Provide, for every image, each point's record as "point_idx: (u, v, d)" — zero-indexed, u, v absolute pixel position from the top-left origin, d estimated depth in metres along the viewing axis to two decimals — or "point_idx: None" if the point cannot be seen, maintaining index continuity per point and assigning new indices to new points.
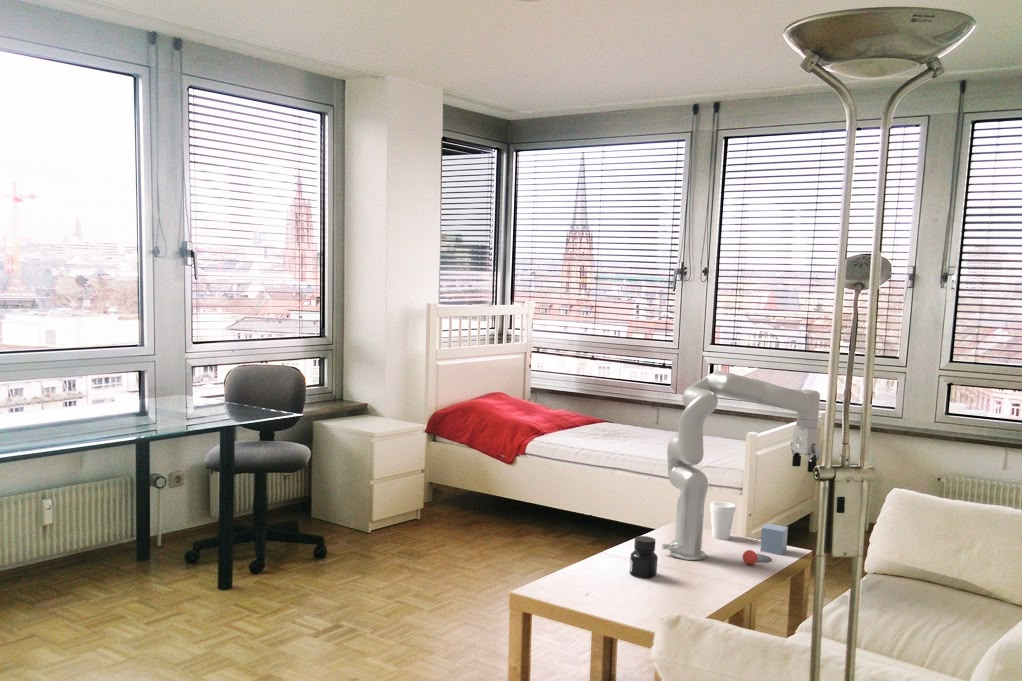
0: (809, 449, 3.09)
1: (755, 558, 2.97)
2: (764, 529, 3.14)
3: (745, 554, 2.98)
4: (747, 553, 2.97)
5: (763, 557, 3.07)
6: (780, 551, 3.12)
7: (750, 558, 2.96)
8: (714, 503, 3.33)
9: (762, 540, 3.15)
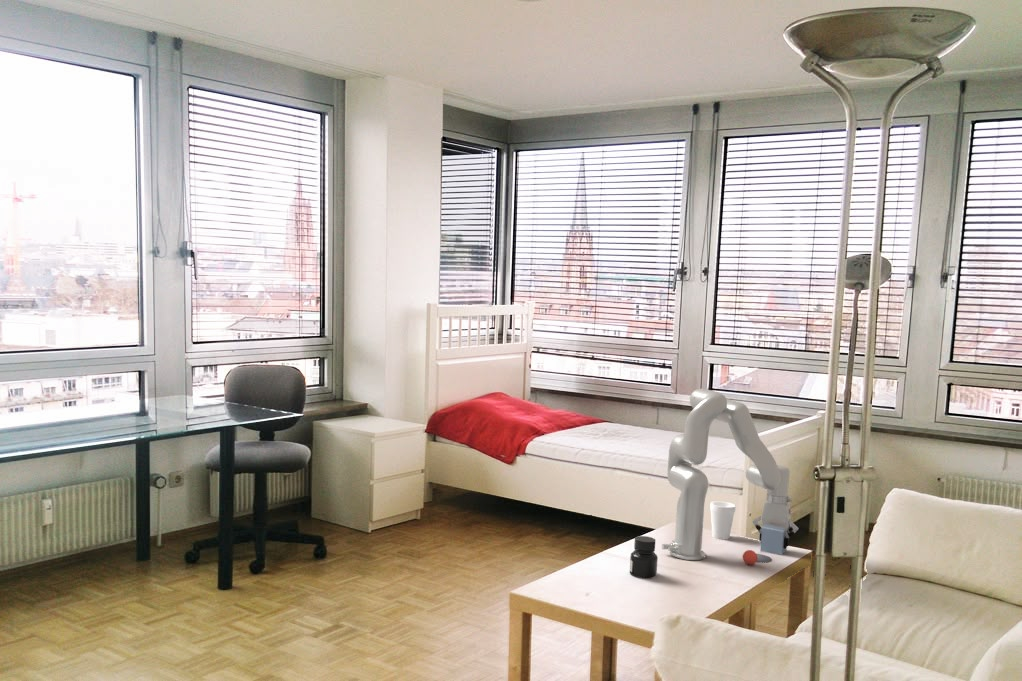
0: None
1: (755, 558, 2.97)
2: (764, 529, 3.14)
3: (745, 554, 2.98)
4: (747, 553, 2.97)
5: (763, 557, 3.07)
6: (780, 551, 3.12)
7: (750, 558, 2.96)
8: (714, 503, 3.33)
9: (762, 540, 3.15)
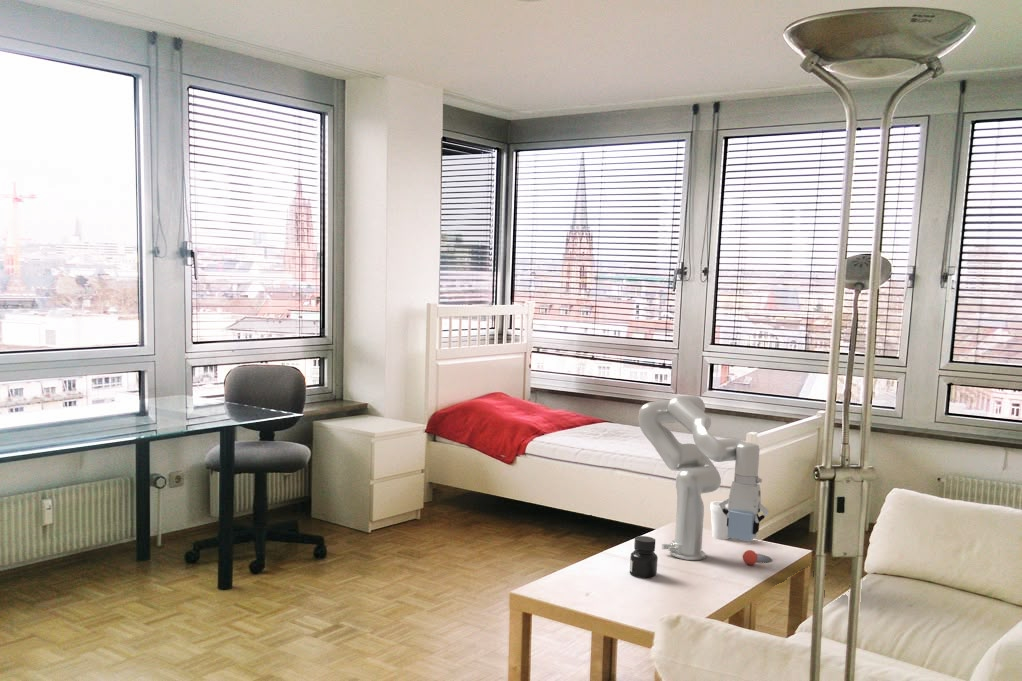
0: None
1: (755, 558, 2.97)
2: (731, 513, 2.84)
3: (745, 554, 2.98)
4: (747, 553, 2.97)
5: (763, 557, 3.07)
6: (749, 537, 2.81)
7: (750, 558, 2.96)
8: (714, 503, 3.33)
9: (729, 525, 2.85)
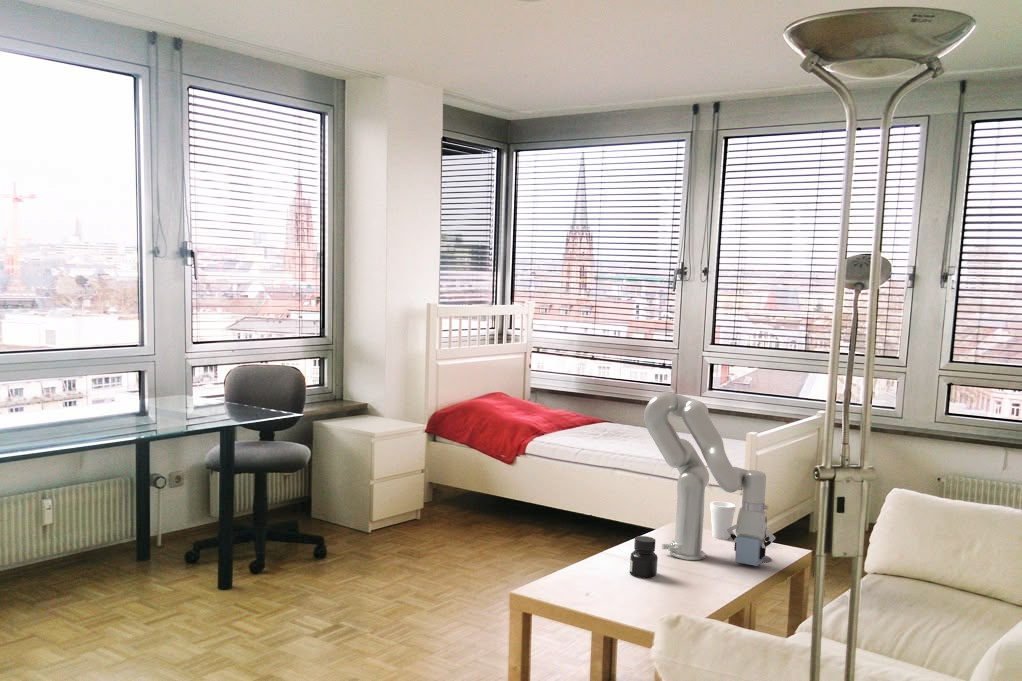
0: None
1: None
2: (739, 538, 2.95)
3: None
4: None
5: (763, 557, 3.07)
6: (756, 562, 2.93)
7: None
8: (714, 503, 3.33)
9: (737, 550, 2.96)
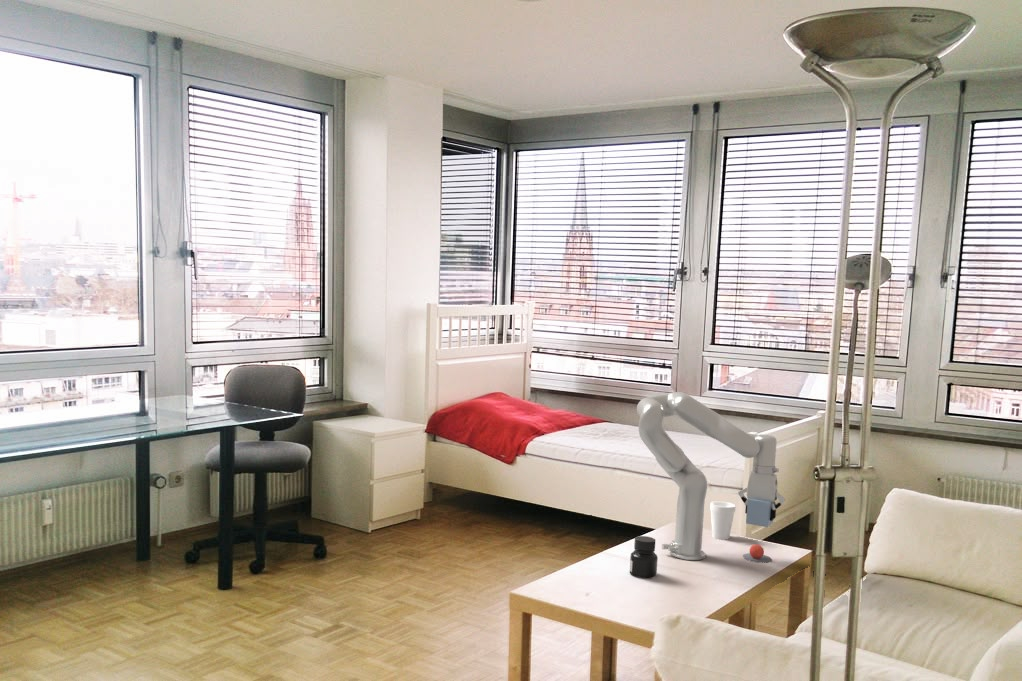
0: None
1: None
2: (750, 500, 3.03)
3: None
4: None
5: (763, 557, 3.07)
6: (766, 523, 3.00)
7: None
8: (714, 503, 3.33)
9: (748, 512, 3.04)
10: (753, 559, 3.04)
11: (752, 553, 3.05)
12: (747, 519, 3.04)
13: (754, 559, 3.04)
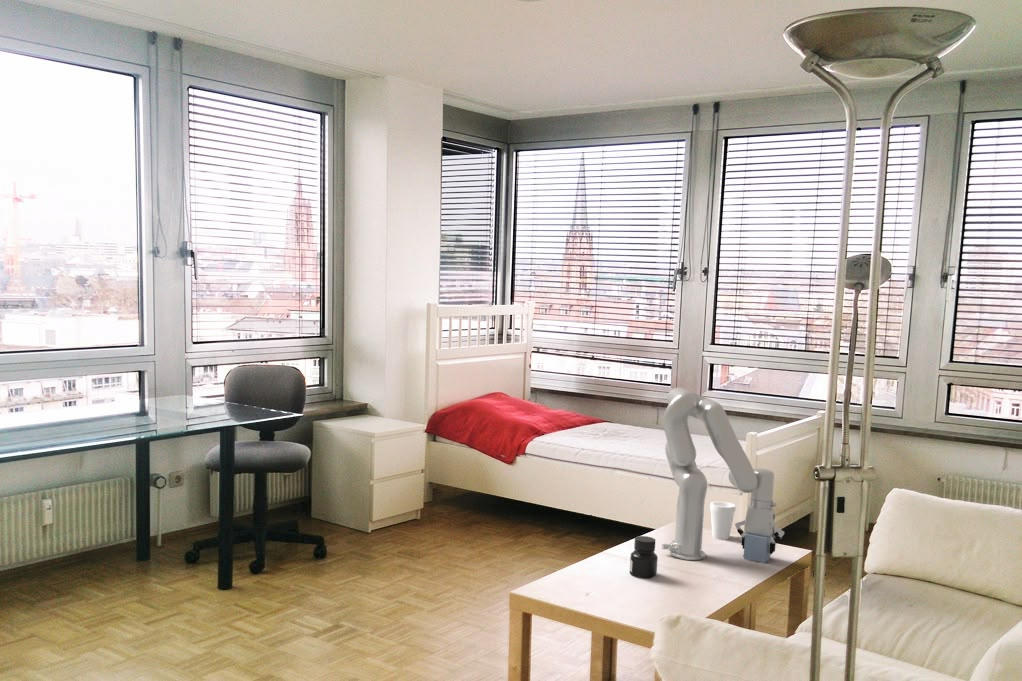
0: None
1: None
2: (747, 536, 3.04)
3: None
4: None
5: None
6: (764, 559, 3.01)
7: None
8: (714, 503, 3.34)
9: (745, 547, 3.04)
10: None
11: None
12: (744, 554, 3.05)
13: None
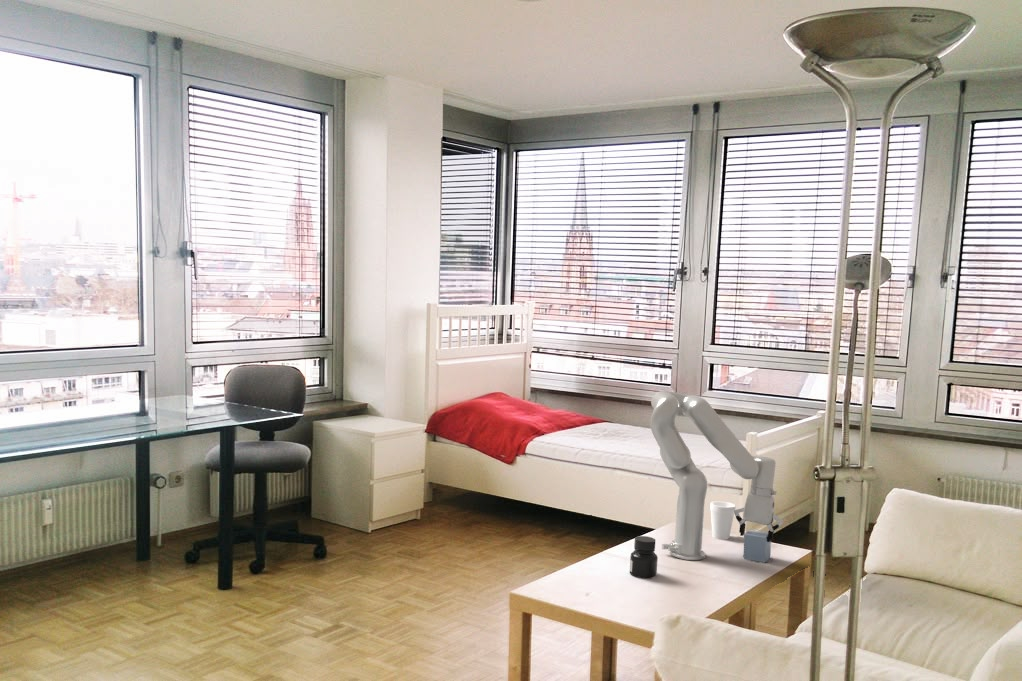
0: None
1: None
2: (746, 536, 3.04)
3: None
4: None
5: None
6: (763, 558, 3.01)
7: None
8: (714, 503, 3.34)
9: (745, 547, 3.05)
10: None
11: None
12: (744, 554, 3.05)
13: None
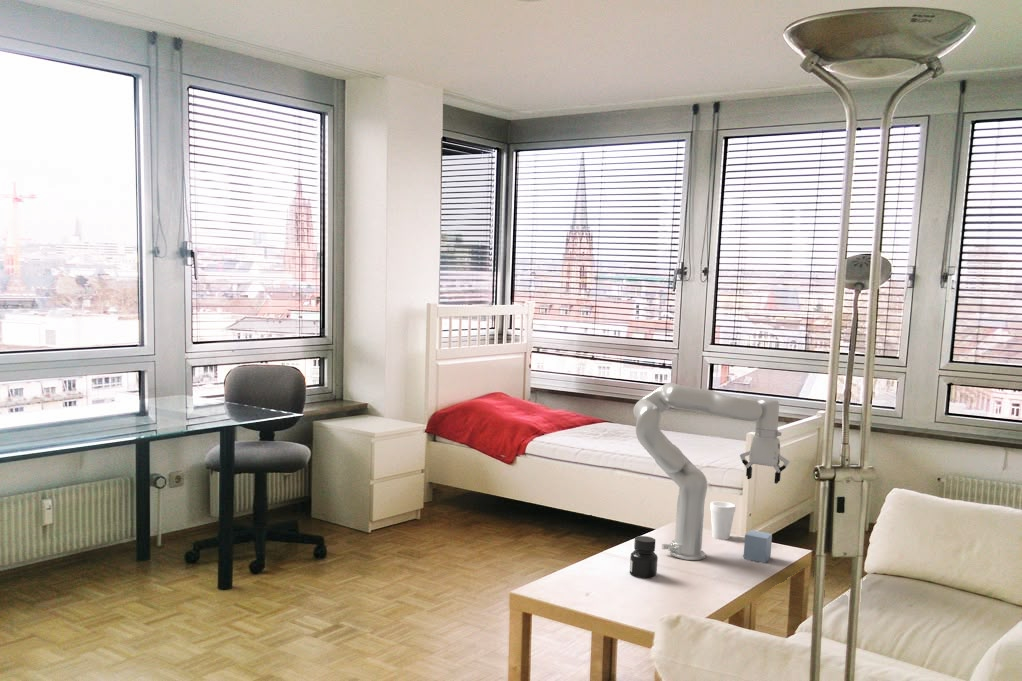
0: None
1: None
2: (747, 536, 3.04)
3: None
4: None
5: None
6: (764, 559, 3.01)
7: None
8: (714, 503, 3.33)
9: (745, 547, 3.04)
10: None
11: None
12: (744, 554, 3.05)
13: None
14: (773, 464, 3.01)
